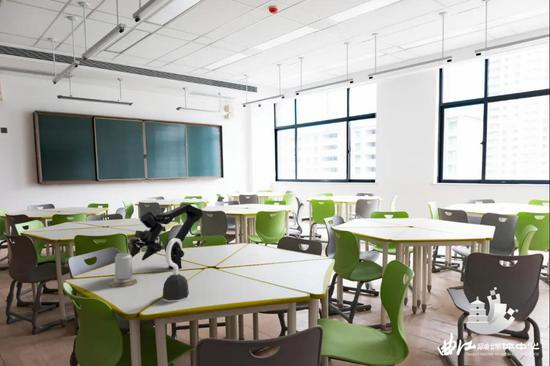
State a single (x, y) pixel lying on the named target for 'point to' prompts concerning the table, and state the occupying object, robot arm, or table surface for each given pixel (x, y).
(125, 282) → the stub stand
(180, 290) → the hook
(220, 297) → the table surface
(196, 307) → the table surface
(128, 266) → the can
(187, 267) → the table surface
